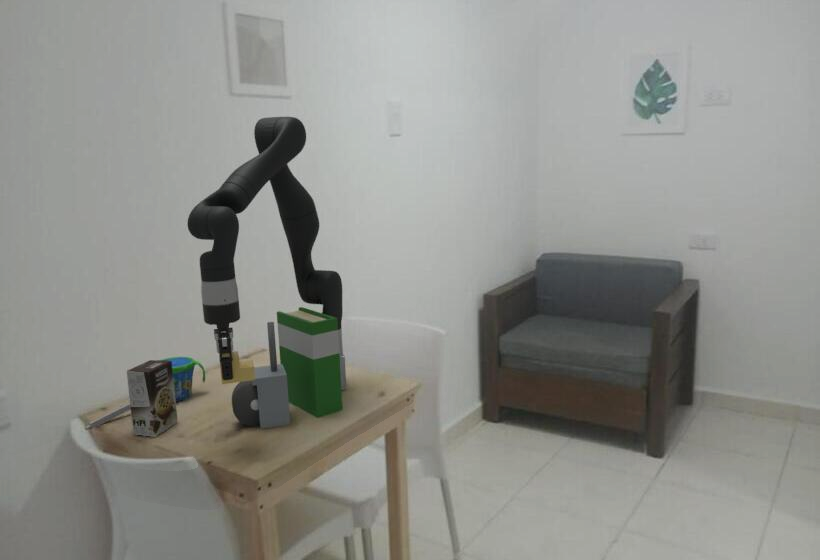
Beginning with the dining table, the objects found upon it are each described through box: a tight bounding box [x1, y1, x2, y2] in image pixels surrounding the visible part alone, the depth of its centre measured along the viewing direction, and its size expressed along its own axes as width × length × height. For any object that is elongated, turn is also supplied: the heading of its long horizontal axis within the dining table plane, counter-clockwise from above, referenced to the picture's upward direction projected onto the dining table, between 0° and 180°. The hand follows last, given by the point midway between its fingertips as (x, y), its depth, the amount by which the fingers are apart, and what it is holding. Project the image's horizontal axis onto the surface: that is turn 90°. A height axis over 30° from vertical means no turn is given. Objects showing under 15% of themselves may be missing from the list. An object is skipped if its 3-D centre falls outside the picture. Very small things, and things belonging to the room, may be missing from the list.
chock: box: [218, 350, 255, 385], centre depth 146 cm, size 7×5×6 cm
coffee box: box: [126, 359, 179, 438], centre depth 159 cm, size 9×6×16 cm
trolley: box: [231, 321, 291, 430], centre depth 160 cm, size 13×9×25 cm
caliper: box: [84, 402, 131, 430], centre depth 169 cm, size 20×1×6 cm, turn 138°
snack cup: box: [162, 356, 206, 402], centre depth 181 cm, size 16×10×10 cm
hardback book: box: [276, 306, 344, 419], centre depth 171 cm, size 18×7×24 cm, turn 39°
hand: (227, 375), depth 145 cm, fingers closed on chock, 5 cm apart
